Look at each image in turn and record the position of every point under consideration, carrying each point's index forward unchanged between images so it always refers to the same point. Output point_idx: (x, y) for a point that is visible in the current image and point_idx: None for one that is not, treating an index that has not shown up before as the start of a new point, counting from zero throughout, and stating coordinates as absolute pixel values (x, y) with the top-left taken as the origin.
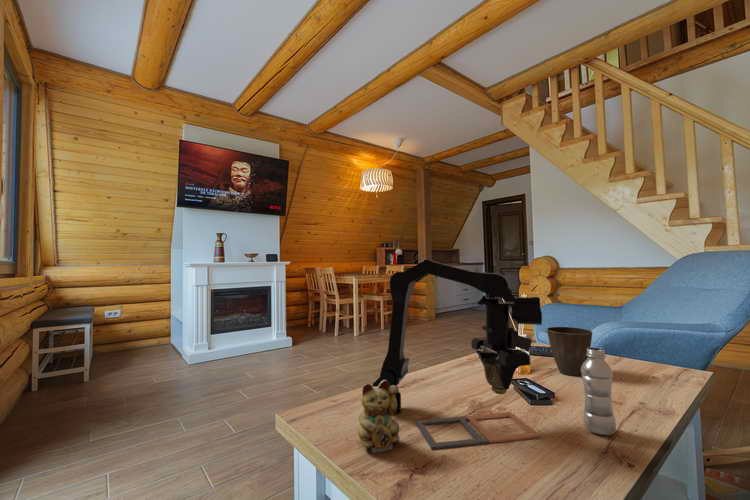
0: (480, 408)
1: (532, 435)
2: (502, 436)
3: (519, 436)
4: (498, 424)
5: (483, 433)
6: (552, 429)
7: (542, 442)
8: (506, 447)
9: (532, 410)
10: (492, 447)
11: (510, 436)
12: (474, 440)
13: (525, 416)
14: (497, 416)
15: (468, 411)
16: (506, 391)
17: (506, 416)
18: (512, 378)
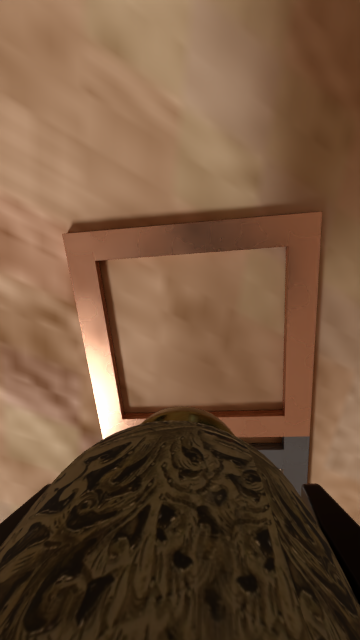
0: (7, 341)
1: (314, 253)
2: (292, 381)
3: (308, 316)
4: (166, 335)
5: (253, 434)
6: (252, 90)
7: (357, 228)
8: (348, 389)
9: (14, 70)
10: (334, 432)
11: (298, 351)
12: (295, 480)
13: (92, 162)
14: (106, 315)
15: (40, 399)
16: (226, 425)
17: (98, 268)
18: (277, 486)
